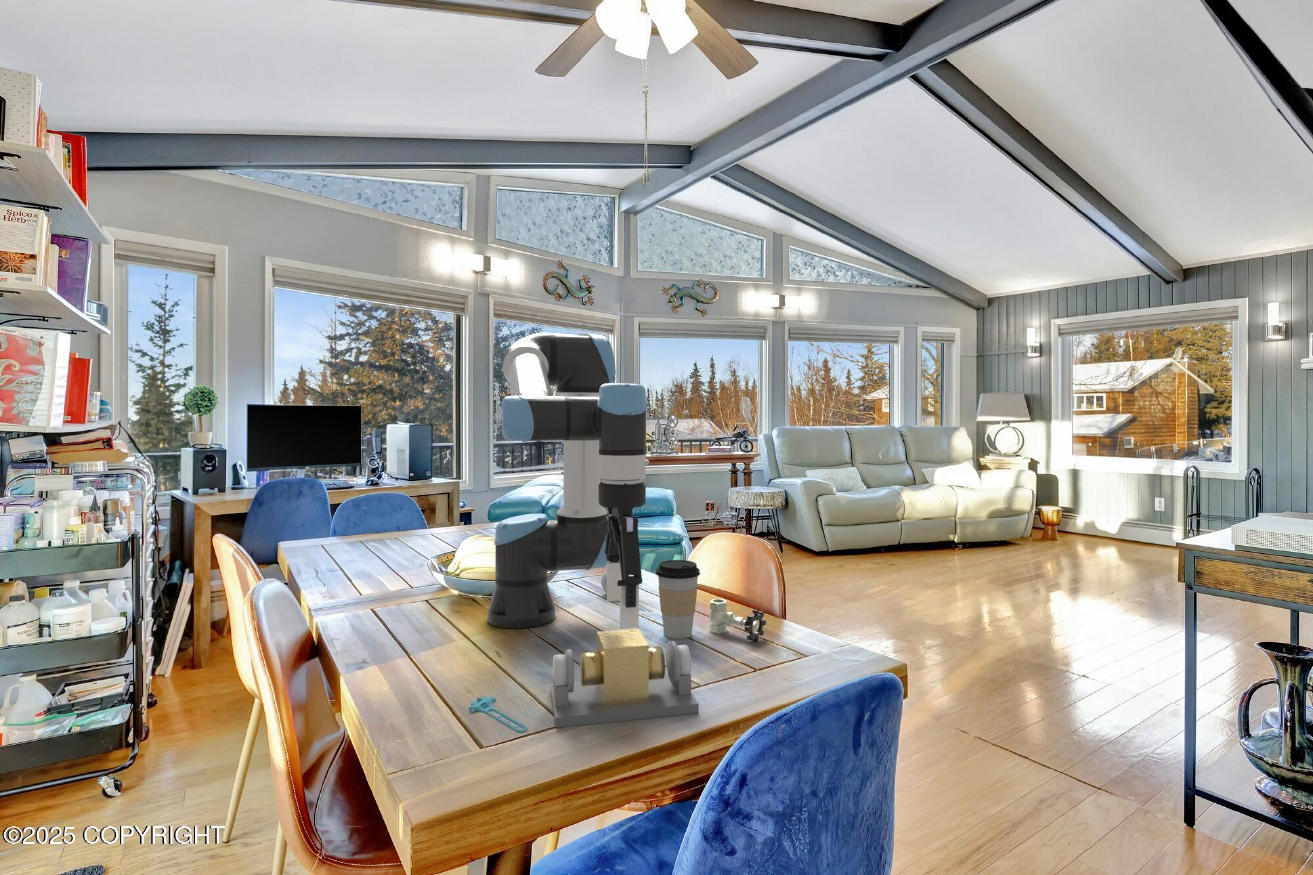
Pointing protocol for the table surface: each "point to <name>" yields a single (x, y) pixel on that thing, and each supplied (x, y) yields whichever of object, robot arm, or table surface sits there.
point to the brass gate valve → (622, 667)
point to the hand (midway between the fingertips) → (621, 613)
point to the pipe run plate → (587, 706)
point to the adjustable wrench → (486, 706)
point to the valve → (734, 620)
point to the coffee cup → (677, 596)
